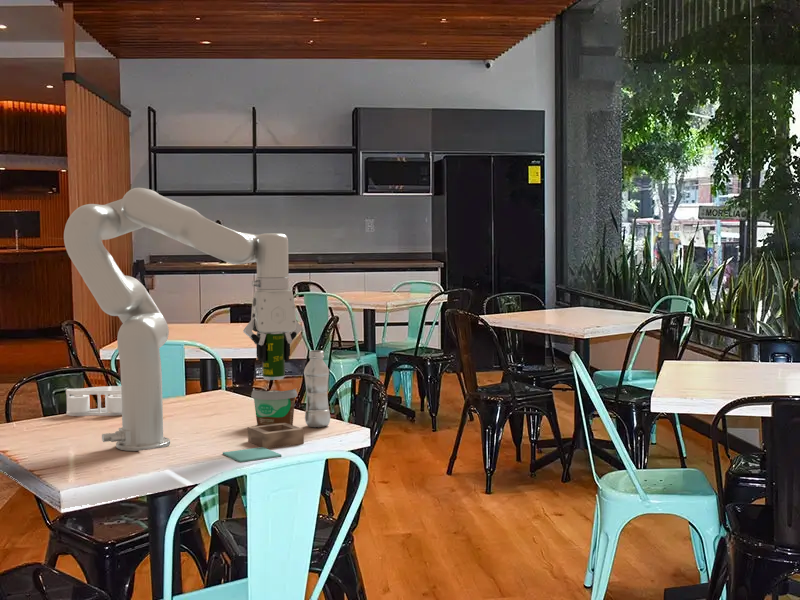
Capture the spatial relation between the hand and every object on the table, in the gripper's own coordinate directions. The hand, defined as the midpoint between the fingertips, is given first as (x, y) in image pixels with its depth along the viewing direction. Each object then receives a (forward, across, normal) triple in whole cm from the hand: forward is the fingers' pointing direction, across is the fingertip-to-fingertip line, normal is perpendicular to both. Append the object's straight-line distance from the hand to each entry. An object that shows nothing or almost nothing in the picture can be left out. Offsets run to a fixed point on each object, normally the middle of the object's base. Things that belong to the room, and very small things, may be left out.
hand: (273, 359), depth 231 cm
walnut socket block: (+20, 0, 0) cm, 20 cm away
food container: (+20, +7, +17) cm, 27 cm away
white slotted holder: (+21, -23, +64) cm, 71 cm away
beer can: (+5, 0, 0) cm, 5 cm away
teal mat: (+20, -10, -10) cm, 25 cm away
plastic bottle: (+20, +18, +11) cm, 29 cm away
